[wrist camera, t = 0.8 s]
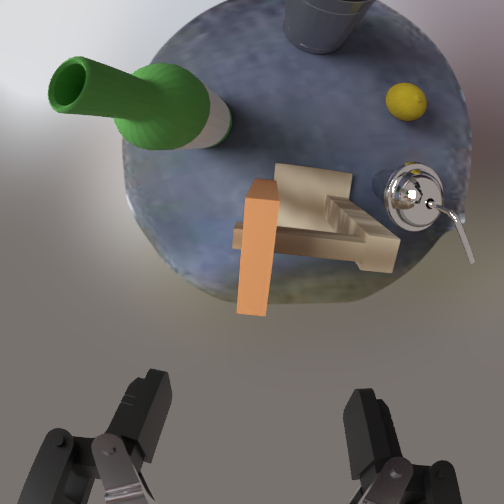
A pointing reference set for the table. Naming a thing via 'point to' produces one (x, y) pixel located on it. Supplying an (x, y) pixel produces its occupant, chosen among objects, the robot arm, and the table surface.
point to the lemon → (406, 101)
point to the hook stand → (326, 220)
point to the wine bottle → (143, 103)
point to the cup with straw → (415, 199)
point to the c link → (257, 246)
